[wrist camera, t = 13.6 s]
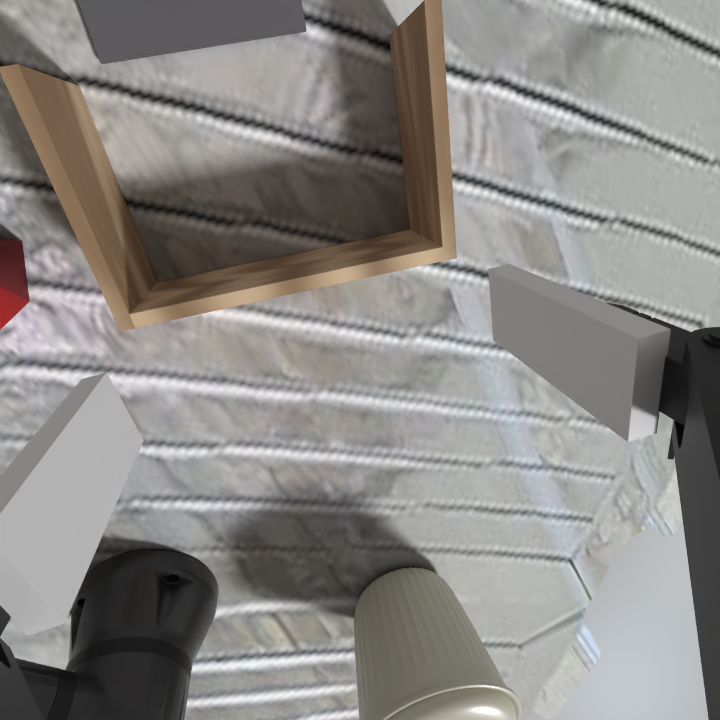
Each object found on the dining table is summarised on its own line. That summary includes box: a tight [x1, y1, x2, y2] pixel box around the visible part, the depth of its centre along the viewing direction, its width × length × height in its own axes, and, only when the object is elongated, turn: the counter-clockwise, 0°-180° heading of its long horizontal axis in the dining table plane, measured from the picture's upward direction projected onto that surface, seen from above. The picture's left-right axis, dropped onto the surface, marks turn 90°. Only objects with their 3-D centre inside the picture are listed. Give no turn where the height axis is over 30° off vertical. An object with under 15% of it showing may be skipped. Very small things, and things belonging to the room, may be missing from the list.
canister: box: [354, 567, 522, 720], centre depth 50 cm, size 18×18×21 cm
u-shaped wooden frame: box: [0, 0, 457, 331], centre depth 30 cm, size 24×15×8 cm, turn 100°
